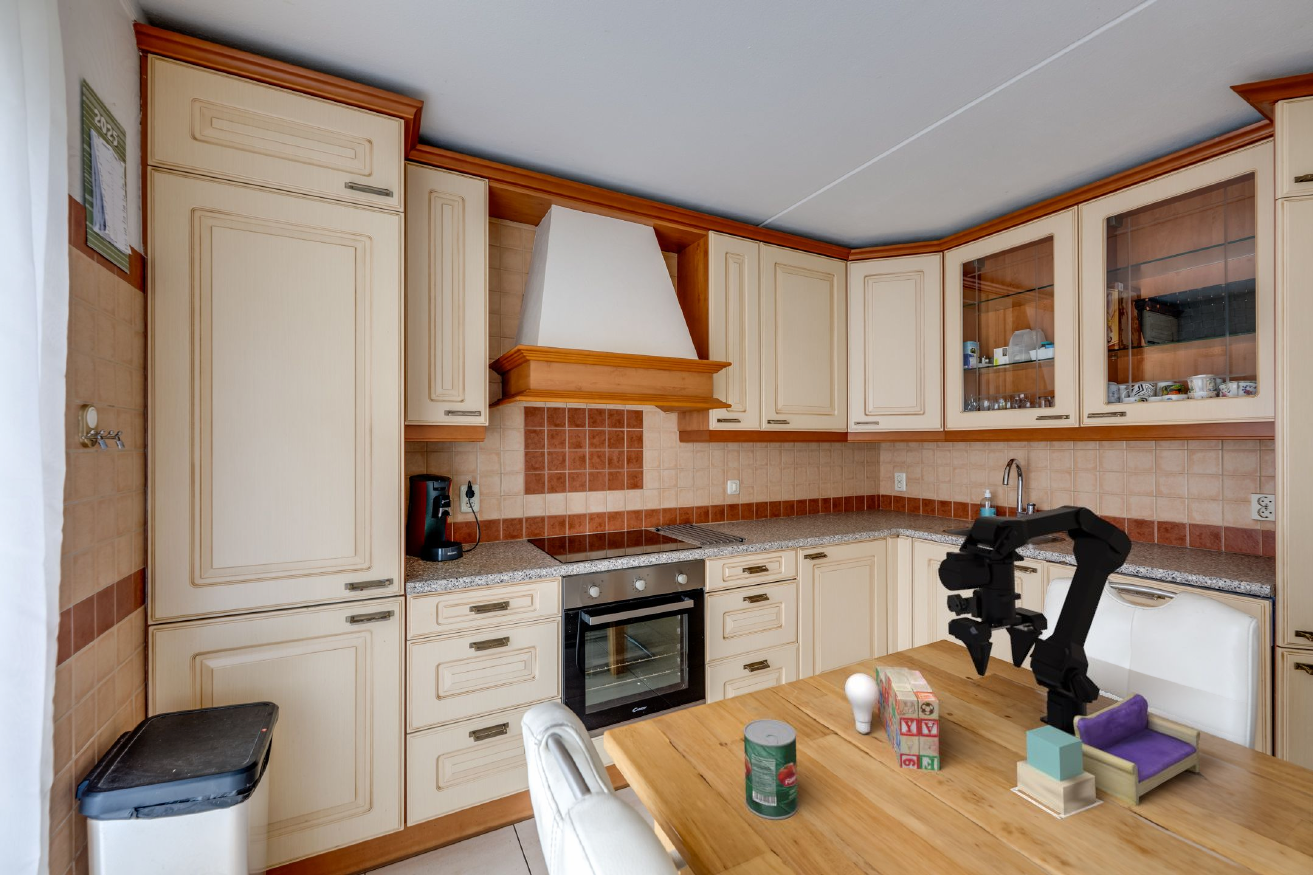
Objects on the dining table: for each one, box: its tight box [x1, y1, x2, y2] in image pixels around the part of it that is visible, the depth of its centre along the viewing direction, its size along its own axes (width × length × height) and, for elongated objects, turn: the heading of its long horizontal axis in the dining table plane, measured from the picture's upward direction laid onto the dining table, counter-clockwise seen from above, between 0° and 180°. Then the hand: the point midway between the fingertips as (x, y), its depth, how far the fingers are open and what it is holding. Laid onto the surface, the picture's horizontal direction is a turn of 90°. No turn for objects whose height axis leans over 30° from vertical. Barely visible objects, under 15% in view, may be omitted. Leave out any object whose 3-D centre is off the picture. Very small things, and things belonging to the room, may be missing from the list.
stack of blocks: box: [875, 665, 940, 772], centre depth 105 cm, size 21×6×12 cm, turn 169°
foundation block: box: [1016, 758, 1097, 815], centre depth 86 cm, size 7×7×4 cm
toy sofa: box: [1074, 692, 1201, 807], centre depth 92 cm, size 21×9×10 cm, turn 116°
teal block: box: [1025, 724, 1083, 782], centre depth 87 cm, size 5×5×5 cm
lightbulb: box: [844, 672, 880, 735], centre depth 107 cm, size 6×6×11 cm
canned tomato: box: [743, 718, 799, 821], centre depth 87 cm, size 8×8×11 cm
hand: (999, 671), depth 105 cm, fingers open, 9 cm apart
